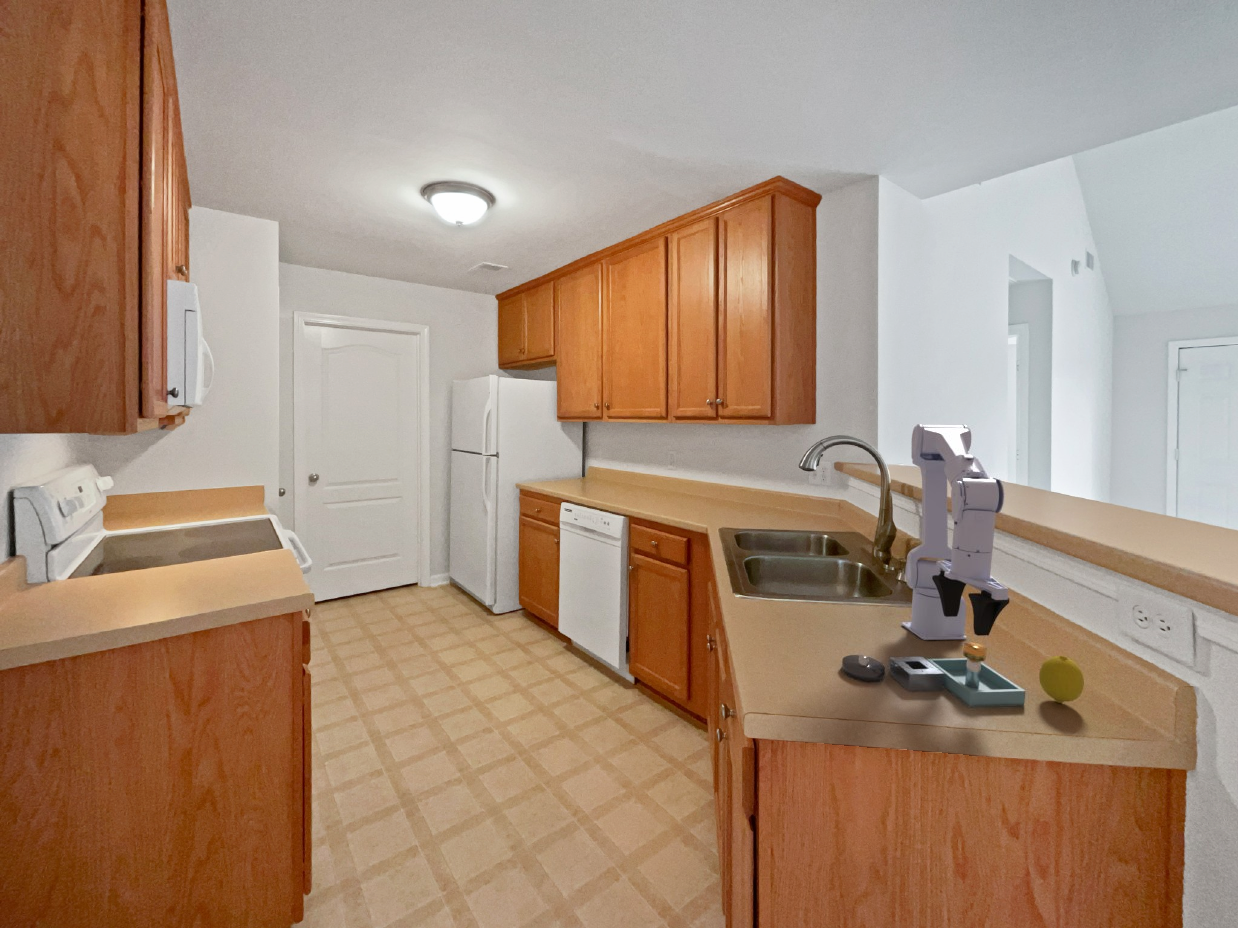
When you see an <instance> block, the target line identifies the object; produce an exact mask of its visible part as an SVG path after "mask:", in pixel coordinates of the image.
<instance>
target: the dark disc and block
mask: <svg viewBox="0 0 1238 928" xmlns="http://www.w3.org/2000/svg"><path fill="white" fill-rule="evenodd" d="M926 659H927V658H925V657H923V656H900V657H899V656H898V657H897V656H896V657H893V656H892V657H891V656H890V657H889V665H888V674H889V675H890V676H891V677H892V678H893V679H895V681H897V683H899V684H900V685H901V686H902V687H903V688H904V689H905V690H906V691H908V692H924V691H925V692H926V691H927V692H929V691H930V692H931V691H932V692H933V691H943V690H944V687H943V682H944V673H943V672H942V671H940V670H939V669H938V668H936V667H935V666H934V665H932V664H931V663H930V662H928V661H927V660H926ZM841 664H842V665H841V671H842V673H844V675H846V676H848V678H851V679H853V680H856V681H860V682H864V683H879V682H883V681H884V679H885V676H886V666H885V665H884V663H882V662H881V661H880V660H878V659H876V658H873V657H869V656H868V655H867V654H850V655H846V656H844V657H843V658H842V663H841Z"/></svg>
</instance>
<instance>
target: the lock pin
mask: <svg viewBox="0 0 1238 928" xmlns="http://www.w3.org/2000/svg"><path fill="white" fill-rule="evenodd" d="M962 655H963V656H964V658H967V665H966V677H965V685H966V686H968V687H970V688H974V689H978V688H979V681H980V670H981V662H985V661H986V660H987V647H986V646H985V645H983V644H981V643H976V642H973V641H972V642H970V641H969V642H967V641H966V642H964V643H963V653H962Z"/></svg>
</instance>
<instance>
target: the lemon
mask: <svg viewBox="0 0 1238 928" xmlns="http://www.w3.org/2000/svg"><path fill="white" fill-rule="evenodd" d="M1084 681H1085V679H1084V674H1083V672H1082V670H1081V668H1080V666H1079V665H1078V664H1076V662H1074V661H1073V660H1072V659H1070V658H1068V657H1067V656H1066V655H1062V654H1061V655H1059V656H1058V655H1055V656H1054V655H1053V656H1052V657H1051V656H1050V657H1048V658H1047V659H1046V660H1045V661H1043V663H1042V664H1041V667H1040V670H1039V684H1040V686H1041V689H1043V691H1044V693H1045V694H1047V695H1048V696H1049V697H1050V698H1052V699H1053V700H1054V701H1055V702H1056V703H1057V704H1062V703H1065V702H1073V701H1075V700H1077V699H1078V698H1079V697H1080V696H1081V695H1082V692H1083V690H1084V688H1085V687H1084V684H1085V682H1084Z"/></svg>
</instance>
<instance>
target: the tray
mask: <svg viewBox="0 0 1238 928" xmlns="http://www.w3.org/2000/svg"><path fill="white" fill-rule="evenodd" d="M925 659H926V660H927V661H928V662H930V663H931V664H932V665H934V666H935V667H936V668H938V669H939V670H940V671H942V672H943V673H944V682H943V688H945V690H947V691H948V692H950V693H951V695H953V696H955V697H956V698H957V699H958V700H959V701H961V702H962V703H963V704H965V705H966V706H968V707H969V708H984V707H987V708H989V707H1020V706H1021V707H1022V706H1023V707H1024V706H1025V701H1026V690H1025V689H1024V688H1022V687H1020V686H1019V685H1017V684H1016V683H1015V682H1013V681H1012V680H1009V679H1008V678H1006V677H1005V676H1004V675H1003V674H1000V673H999V672H998V671H996V670H995V669H994V668H992V667H990V666H989V665H987V664H986V663H984V662H983V661H981V670H980V681H979V688H978V689H974V688H970V687H968V686H966V685H965V677H966V665H967V657H959V658H956V657H955V658H951V657H950V658H925Z"/></svg>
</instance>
